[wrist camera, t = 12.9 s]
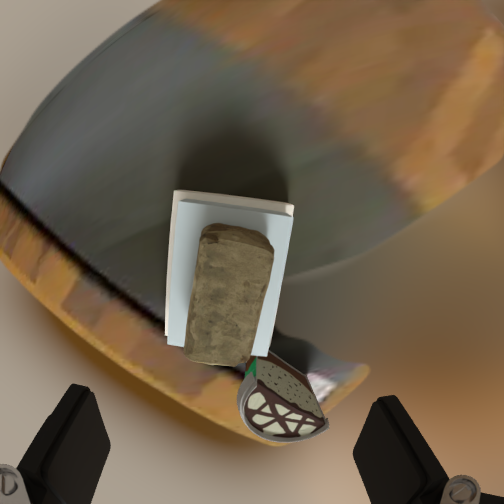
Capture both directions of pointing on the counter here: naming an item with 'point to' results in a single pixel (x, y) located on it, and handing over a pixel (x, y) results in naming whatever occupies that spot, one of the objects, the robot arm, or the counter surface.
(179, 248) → the tower top slab
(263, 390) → the food container
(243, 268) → the stone block
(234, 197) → the tower base slab
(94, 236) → the counter surface
